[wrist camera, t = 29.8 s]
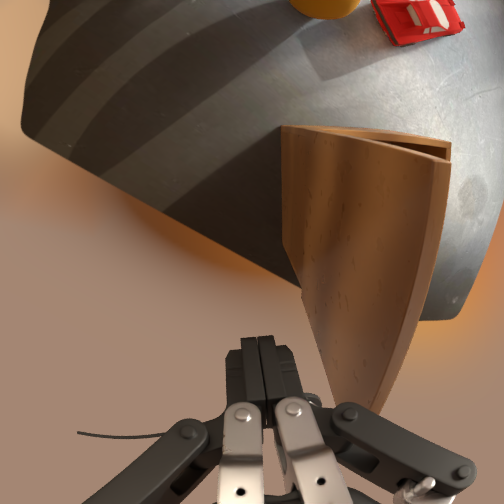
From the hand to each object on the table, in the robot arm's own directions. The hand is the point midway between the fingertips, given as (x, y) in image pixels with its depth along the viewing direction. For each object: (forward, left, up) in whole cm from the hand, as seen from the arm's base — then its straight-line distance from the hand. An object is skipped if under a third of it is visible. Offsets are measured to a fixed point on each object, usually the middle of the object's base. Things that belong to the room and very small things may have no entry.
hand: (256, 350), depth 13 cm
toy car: (+39, +18, -31) cm, 53 cm away
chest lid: (+6, -2, -7) cm, 10 cm away
